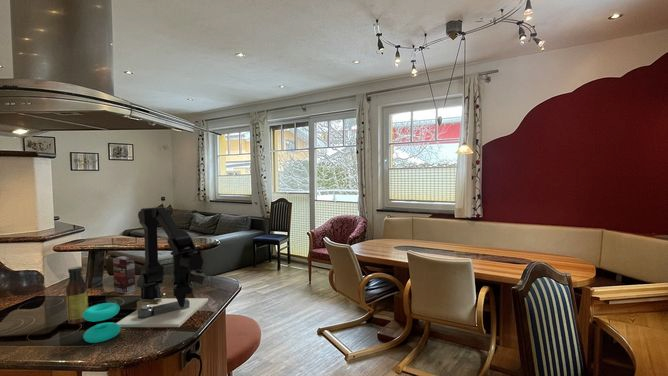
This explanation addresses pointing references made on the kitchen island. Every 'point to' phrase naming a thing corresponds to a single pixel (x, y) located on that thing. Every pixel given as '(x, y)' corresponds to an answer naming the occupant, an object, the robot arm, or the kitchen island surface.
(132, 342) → the kitchen island surface
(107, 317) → the donuts
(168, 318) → the base board
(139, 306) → the keeper
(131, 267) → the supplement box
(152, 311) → the pivot link
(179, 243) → the robot arm
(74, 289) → the sauce bottle
